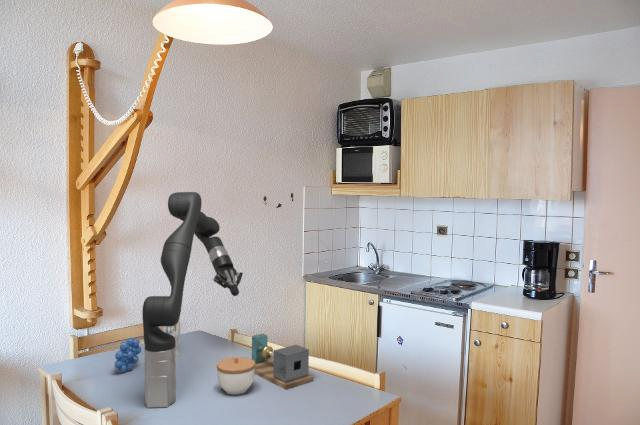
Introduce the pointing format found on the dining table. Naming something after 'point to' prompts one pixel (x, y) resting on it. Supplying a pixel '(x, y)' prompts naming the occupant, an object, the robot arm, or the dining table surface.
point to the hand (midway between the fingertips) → (236, 294)
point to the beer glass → (173, 333)
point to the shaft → (261, 348)
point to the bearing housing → (291, 363)
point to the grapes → (127, 355)
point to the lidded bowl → (235, 374)
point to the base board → (267, 372)
